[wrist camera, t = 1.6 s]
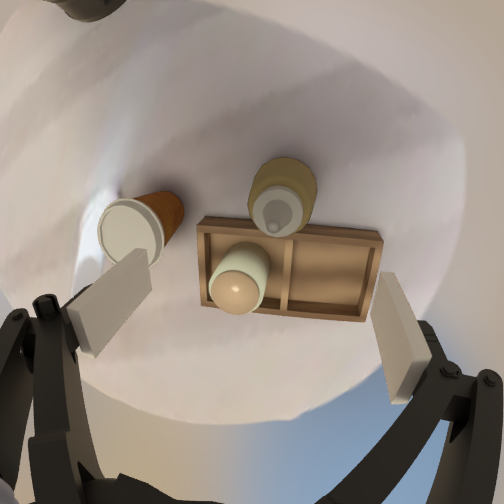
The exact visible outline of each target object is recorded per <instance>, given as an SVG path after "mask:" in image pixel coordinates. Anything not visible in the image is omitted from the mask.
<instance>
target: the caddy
mask: <svg viewBox="0 0 504 504" xmlns="http://www.w3.org/2000/svg"><path fill="white" fill-rule="evenodd" d="M244 241H246V242H253V243H255V244H258V245H259V246H261V247H262V248H263V249H264V250H265V251H266V252H267V254H268V255H269V258H270V262H271V268H270V272H269V276H268V280H267V284H266V288H265V292H264V296H263V300H262V302H261V304H260V305H259V307H258V308H256V309H255V310H254V311H252V312H254V313H262V314H271V315H281V316H291V317H301V318H313V319H324V320H337V321H351V322H365V320H366V317H367V313H368V309H369V305H370V302H371V298H372V294H373V289H374V285H375V281H376V277H377V272H378V268H379V263H380V258H381V254H382V249H383V243H384V241H383V239H382V238H381V236H380V234H379V233H378V231H371V230H361V229H352V228H342V227H332V226H321V225H310V224H306V225H305V226H304V227H303V229H302V230H300V231H298V232H296V233H294V234H293V235H290V236H284V237H274V236H269V235H267V234H265V233H264V232H262V231H261V230H260V229H259V228H258V227H257V226H256V225H255V223H254V222H253V220H251V219H237V218H223V217H208V216H205V217H204V218H203V219H202V220H201V221H200V222H199V223H198V224H197V246H198V265H199V282H200V296H201V306H207V307H214V308H219V307H218V306H217V305H216V304H215V303H214V301H213V300H212V298H211V296H210V293H209V282H210V279H211V277H212V275H213V274H214V272H215V270H216V268H217V267H218V265H219V263H220V262H221V260H222V258H223V257H224V255H225V253H226V252H227V250H228V249H229V248H230V247H231V246H232V245H234V244H236V243H238V242H244Z"/></svg>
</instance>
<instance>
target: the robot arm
mask: <svg viewBox="0 0 504 504" xmlns="http://www.w3.org/2000/svg"><path fill="white" fill-rule="evenodd" d="M44 1H48V2H52V3H55V4H57V5H58V6H59V7H60V8H61V9H63V10H64V11H65V13H66V14H67V15H68V16H69V17H71V18H73V19H75V20H79V21H82V22H92V21H96V20H99V19H101V18H104V17H105V16H107V15H109V14H110V13H112V12H113V11H115V10H116V9H117V8H118V7H119V6H120V5H122V4H123V3H124V1H125V0H44ZM151 291H152V286H151V279H150V272H149V264H148V256H147V249H141V248H135V249H134V250H133V251H131V252H130V253H129V254H128V255H126V256H125V257H124V258H123V259H122V260H120V261H119V262H118V263H117V264H116V265H114V266H113V267H112V268H111V269H110V270H108V271H107V272H106V273H105V274H104V275H103V276H101V277H100V278H99V279H98V280H97V281H96V282H95V283H93V284H90V285H88V286H86V287H84V288H83V289H82V290H81V291H80V292H78V294H76V295H75V296H74V298H72V299H70V300H69V301H68V302H67V303H66V304H65V305H64V306H63V307H61V308H60V307H59V304H58V300H57V297H56V296H55V295H54V294H45V295H42V296H39V297H38V298H36V299H35V300H34V301H33V303H32V305H33V307H34V310H35V313H36V316H37V318H33V317H30V316H29V314H28V311H27V310H26V309H24V308H20V309H16V310H13V311H12V312H11V313H9V315H8V316H7V318H6V319H5V321H4V323H3V325H2V327H1V328H0V504H19V503H18V501H17V500H16V499H15V498H14V493H13V492H14V489H15V485H16V482H17V478H18V472H19V465H20V458H21V452H22V446H23V440H24V434H25V429H26V424H27V420H28V415H29V411H30V407H31V403H32V399H33V406H34V429H35V436H34V437H30V438H29V439H28V451H29V461H30V470H31V477H32V483H33V490H34V496H35V501H36V502H33V503H30V504H223V503H218V502H213V501H183V500H176V499H173V498H172V497H170V496H168V495H166V494H164V493H163V492H161V491H159V490H158V489H156V488H154V487H153V486H151V485H149V484H148V483H145V482H142V481H140V480H137V479H134V478H132V477H129V476H126V475H124V474H121V473H120V474H119V476H118V477H117V479H114V478H104V476H103V474H102V472H101V470H100V468H99V465H98V461H97V458H96V454H95V450H94V446H93V442H92V438H91V434H90V429H89V424H88V420H87V415H86V410H85V404H84V399H83V393H82V386H81V381H80V372H79V365H78V356H77V353H76V351H75V350H76V349H77V348H78V347H79V346H80V348H81V351H82V354H83V355H85V356H88V357H90V358H93V359H95V358H96V357H97V356H98V355H99V353H100V352H101V351H102V350H103V348H104V347H105V346H106V345H107V343H108V342H109V341H110V340H111V339H112V337H113V336H114V335H115V334H116V332H117V331H118V330H119V329H120V328H121V326H122V325H123V324H124V323H125V321H126V320H127V319H128V318H129V317H130V315H131V314H132V313H133V312H134V311H135V310H136V308H137V307H138V306H139V305H140V304H141V302H142V301H143V300H144V299H145V298H146V297H147V295H148V294H149V293H150V292H151ZM370 315H371V319H372V323H373V327H374V331H375V335H376V339H377V343H378V347H379V351H380V355H381V360H382V364H383V368H384V373H385V378H386V382H387V387H388V392H389V397H390V403H391V404H407V403H408V401H409V399H410V397H411V396H412V395H413V398H412V400H411V401H410V402H409V404H408V405H407V406H406V408H405V409H404V410H403V412H402V413H401V415H400V416H399V417H398V418H397V420H396V421H395V422H394V423H393V425H392V426H391V427H390V428H389V430H388V431H387V432H386V433H385V435H384V436H383V437H382V438H381V439H380V440H379V442H378V443H377V444H376V445H375V446H374V447H373V449H372V450H371V451H370V452H369V453H368V454H367V455H366V456H365V457H364V459H363V460H362V461H361V462H360V463H359V464H358V465H357V466H356V467H355V468H354V469H353V470H352V471H351V472H350V473H349V474H348V475H347V476H346V477H345V478H344V479H343V480H342V481H341V482H340V483H339V484H338V485H337V486H336V487H335V488H334V489H333V490H332V491H331V492H329V493H328V494H327V495H325V496H323V497H322V498H321V499H319V500H318V501H317V502H316V503H315V504H381V503H382V502H383V501H384V500H385V498H386V497H387V496H388V495H389V494H390V493H391V491H392V490H393V489H394V488H395V486H396V485H397V484H398V482H399V481H400V480H401V478H402V477H403V476H404V474H405V473H406V472H407V470H408V469H409V468H410V466H411V465H412V463H413V462H414V460H415V459H416V458H417V456H418V455H419V453H420V452H421V450H422V449H423V447H424V445H425V444H426V442H427V441H428V439H429V438H430V436H431V434H432V433H433V431H434V429H435V428H436V426H437V424H438V422H439V421H440V419H442V420H446V421H450V423H449V427H448V432H447V436H446V440H445V444H444V448H443V452H442V456H441V459H440V463H439V466H438V470H437V473H436V476H435V479H434V482H433V485H432V488H431V491H430V494H429V496H428V499H427V502H426V504H492V501H493V496H494V491H495V486H496V480H497V474H498V467H499V459H500V451H501V440H502V426H503V382H502V379H501V377H500V376H499V375H498V374H497V373H496V372H494V371H492V370H489V369H484V370H482V371H480V372H479V374H478V375H477V377H473V376H468V375H464V374H462V372H461V369H460V368H459V367H458V365H456V364H455V363H453V362H451V361H448V360H447V358H446V356H445V353H444V351H443V349H442V347H441V345H440V343H439V342H438V341H439V340H438V338H437V336H436V334H435V332H434V330H433V328H432V327H431V326H430V325H429V324H428V323H427V322H426V321H421V320H416V317H415V315H414V313H413V311H412V309H411V307H410V304H409V302H408V300H407V298H406V296H405V294H404V292H403V290H402V288H401V286H400V284H399V282H398V280H397V278H396V276H395V274H394V273H392V272H381V273H380V277H379V281H378V286H377V290H376V294H375V298H374V302H373V306H372V309H371V313H370ZM20 351H21V353H20Z"/></svg>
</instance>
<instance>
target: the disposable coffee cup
mask: <svg viewBox="0 0 504 504" xmlns="http://www.w3.org/2000/svg"><path fill="white" fill-rule="evenodd" d="M183 217H184V208H183V205H182V203H181V201H180V199H179V198H178V197H177V196H176V195H174V194H173V193H171V192H168V191H160V192H156V193H152V194H148V195H144V196H140V197H137V198H133V199H131V198H122V199H118V200H115V201H114V202H112V203H110V204H109V205H108V206H107V207H106V209H105V210H104V212H103V214H102V216H101V218H100V220H99V223H98V229H97V234H98V240H99V244H100V246H101V249H102V251H103V252H104V254H105V256H106V257H107V258H108V259H109V260H110V261H111V262H112V263H113V264H114V265H116V264H117V263H118V262H119V261H120V260H122V259H123V258H124V257H125V256H126V255H128V254H129V253H130V252H131V251H133V250H134V249H135V248H141V249H147V256H148V264H149V268H151V267H153V266H154V265H155V264H156V263H157V262H158V261H159V259H160V258H161V256H162V253H163V250H164V247H165V246H166V244H167V242H168V241H169V240H170V238H171V237H172V235H173V234H174V232H175V231H176V230H177V228H178V227H179V225H180V224H181V223H182V221H183Z"/></svg>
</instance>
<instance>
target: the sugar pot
mask: <svg viewBox="0 0 504 504" xmlns="http://www.w3.org/2000/svg"><path fill="white" fill-rule="evenodd" d="M270 268H271V262H270V258H269V255H268V254H267V252H266V251H265V250H264V249H263V248H262V247H261V246H259V245H258V244H255V243H253V242H246V241H244V242H238V243H236V244H234V245H232V246H231V247H230V248H229V249H228V250H227V252H226V253H225V255H224V257H223V258H222V260H221V262H220V263H219V265H218V267H217V268H216V270H215V272H214V274H213V275H212V277H211V279H210V282H209V293H210V296H211V298H212V300H213V301H214V303H215V304H216V305H217V306H218V307H219V308H220V309H221V310H223V311H225V312H227V313H230V314H234V315H241V314H247V313H250V312H252V311H254V310H255V309H256V308H258V307H259V305H260V304H261V302H262V300H263V296H264V292H265V288H266V284H267V280H268V276H269V272H270Z"/></svg>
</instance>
